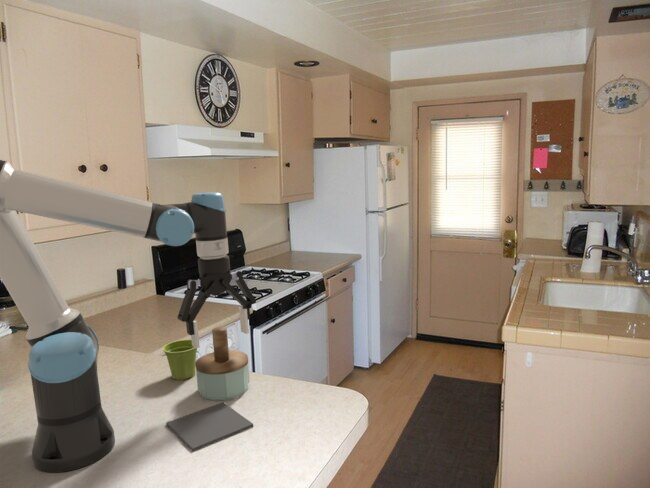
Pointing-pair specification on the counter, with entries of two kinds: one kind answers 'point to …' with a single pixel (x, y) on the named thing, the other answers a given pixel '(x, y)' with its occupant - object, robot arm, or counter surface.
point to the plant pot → (181, 358)
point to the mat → (208, 425)
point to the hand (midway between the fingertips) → (221, 339)
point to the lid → (221, 356)
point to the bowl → (223, 384)
